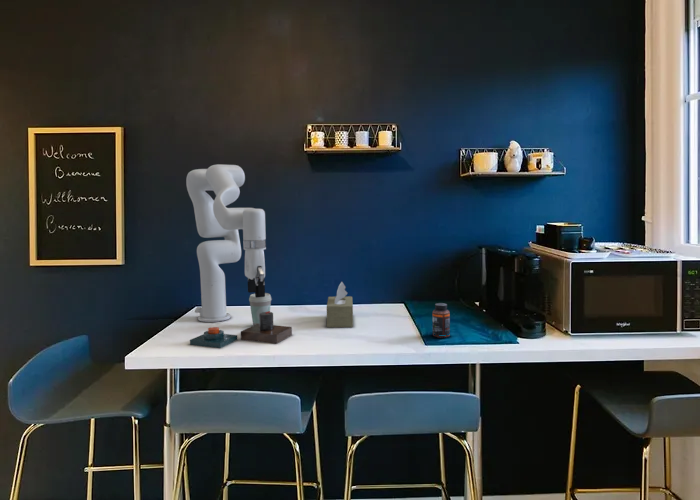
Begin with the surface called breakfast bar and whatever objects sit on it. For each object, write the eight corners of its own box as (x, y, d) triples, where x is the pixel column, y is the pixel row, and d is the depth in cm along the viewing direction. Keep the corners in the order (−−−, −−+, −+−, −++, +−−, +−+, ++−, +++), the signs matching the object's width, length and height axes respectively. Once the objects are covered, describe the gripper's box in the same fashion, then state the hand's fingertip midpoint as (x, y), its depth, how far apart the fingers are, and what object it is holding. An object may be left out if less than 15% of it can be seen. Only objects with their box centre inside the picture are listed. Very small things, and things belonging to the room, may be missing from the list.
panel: (240, 339, 173) (240, 331, 173) (257, 331, 183) (257, 323, 183) (276, 343, 168) (276, 334, 168) (292, 335, 178) (291, 326, 178)
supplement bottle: (450, 334, 177) (451, 302, 176) (448, 339, 171) (448, 306, 170) (433, 333, 179) (434, 301, 178) (430, 337, 173) (431, 305, 172)
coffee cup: (253, 330, 186) (252, 298, 184) (246, 324, 193) (245, 294, 192) (275, 327, 190) (274, 295, 188) (268, 322, 197) (267, 291, 196)
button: (206, 334, 169) (205, 329, 169) (212, 331, 172) (212, 326, 172) (215, 335, 168) (214, 330, 168) (221, 332, 171) (221, 327, 171)
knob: (269, 331, 172) (268, 314, 172) (257, 330, 174) (256, 313, 173) (276, 327, 177) (275, 311, 176) (264, 326, 178) (263, 310, 178)
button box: (189, 344, 168) (189, 334, 168) (208, 336, 177) (208, 327, 177) (220, 348, 164) (219, 337, 163) (237, 340, 173) (237, 330, 173)
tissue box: (353, 327, 188) (352, 285, 186) (326, 327, 188) (326, 286, 186) (352, 315, 206) (352, 277, 205) (328, 315, 206) (328, 277, 205)
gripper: (237, 243, 177) (239, 291, 179) (250, 247, 162) (252, 300, 164) (258, 242, 181) (260, 289, 182) (272, 246, 165) (274, 298, 167)
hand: (256, 294), depth 173 cm, fingers open, 9 cm apart
